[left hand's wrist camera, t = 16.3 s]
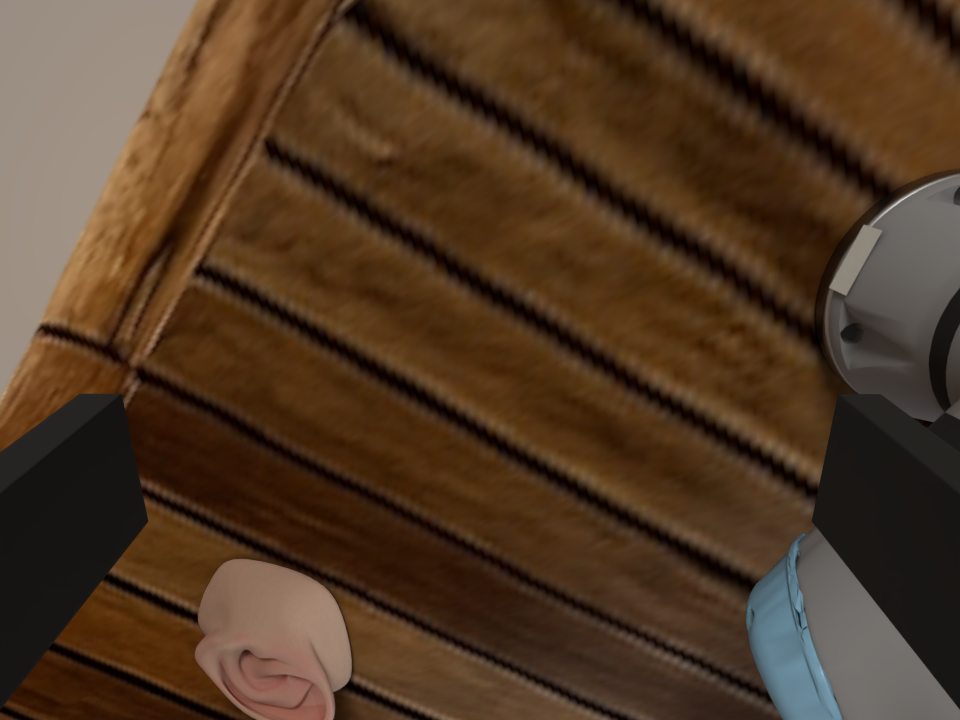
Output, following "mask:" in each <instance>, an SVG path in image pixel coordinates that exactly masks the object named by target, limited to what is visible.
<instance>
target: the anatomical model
mask: <svg viewBox="0 0 960 720" xmlns="http://www.w3.org/2000/svg"><path fill="white" fill-rule="evenodd" d="M198 622H199V625H200V628H201V630H202V631H203V633H204V634H205V637H204V638H203V639H202V640H201V642H200V643H199V644H198V646H197V648H196V650H195V658H196V661H197V663H198V664H199V665H200V667H201V668H202V669H203V670H204V671H205V673H206V674H207V675H208V676H209V677H210V678H211V679H212V681H213V682H214V683H215V684H216V685H217V686H218V688H219V689H220V690H221V691H222V692H223V693H224V694H225V695H226V697H227V698H228V699H229V700H230V701H231V702H232V703H233V704H234V705H236V706H237V707H238V708H239V709H240V710H242V711H243V712H244V713H246V714H247V715H249V716H251V717H252V718H254V719H256V720H333V719H334V715H335V700H334V695H333V692H335V691H337V690H339V689H341V688H342V687H343V686H345V685H346V684H347V682H348V681H349V679H350V677H351V672H352V658H351V650H350V644H349V639H348V635H347V631H346V627H345V623H344V620H343V617H342V614H341V612H340V609H339V607H338V605H337V603H336V601H335V599H334V598H333V596H332V595H331V593H330V592H329V591H328V590H327V589H326V588H325V587H324V586H323V585H321V584H320V583H319V582H317V581H315V580H314V579H312V578H310V577H308V576H306V575H304V574H302V573H299V572H297V571H294V570H291V569H289V568H285V567H282V566H278V565H275V564H270V563H266V562H262V561H256V560H250V559H233V560H230V561H227V562H225V563H224V564H222V565H221V566H220V567H219V568H218V570H217V571H216V573H215V574H214V575H213V577H212V579H211V581H210V583H209V585H208V587H207V589H206V591H205V593H204V595H203V598H202V601H201V605H200V608H199V613H198Z"/></svg>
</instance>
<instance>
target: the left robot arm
mask: <svg viewBox="0 0 960 720" xmlns="http://www.w3.org/2000/svg"><path fill="white" fill-rule="evenodd" d="M816 328H817V335H818V339H819V343H820V346H821V349H822V351H823V354H824V356H825V358H826V360H827V362H828V364H829V365H830V367H831V368H832V369H833V371H834V372H835V374H836V375H837V376H838V377H839V378H840V379H841V380H842V381H843V382H844V383H845V384H847V385H848V386H849V387H850V388H851V389H853V390H854V391H855V392H857V393H858V394H838V398H837V403H836V408H835V413H834V417H833V422H832V427H831V432H830V437H829V441H828V446H827V451H826V456H825V461H824V465H823V470H822V475H821V480H820V484H819V489H818V494H817V499H816V504H815V508H814V513H813V518H812V522H813V524H814V525H815V526H816V527H815V528H814V529H813V530H812V531H810V532H809V533H808V534H804V533H803V534H801V535H800V536H798V537H797V538H796V539H795V540H794V541H793V542H792V544H791V546H790V550H789V551H788V552H787V553H786V554H785V556H784V557H783V558H782V559H781V560H780V561H779V562H778V563H777V564H776V565H775V566H774V567H773V568H772V569H771V570H770V571H769V572H768V573H767V574H766V575H765V576H764V577H763V578H762V579H761V580H760V581H759V582H758V583H757V584H756V585H755V587H754V588H753V590H752V592H751V593H750V596H749V599H748V602H747V607H746V626H747V630H748V634H749V644H750V648H751V651H752V654H753V657H754V660H755V663H756V666H757V668H758V671H759V673H760V676H761V678H762V680H763V683H764V685H765V687H766V689H767V691H768V693H769V695H770V697H771V699H772V701H773V703H774V705H775V707H776V708H777V710H778V712H779V714H780V716H781V717H782V719H783V720H960V169H955V170H948V171H944V172H939V173H935V174H932V175H929V176H925V177H923V178H920V179H918V180H915V181H913V182H911V183H909V184H907V185H905V186H903V187H901V188H899V189H897V190H895V191H894V192H892V193H891V194H889V195H887V196H886V197H884V198H883V199H882V200H880V201H879V202H878V203H876V204H875V205H874V206H873V207H872V208H870V209H869V210H868V211H867V212H866V213H865V214H864V215H863V216H862V217H861V218H860V219H859V220H858V221H857V222H856V223H855V224H854V225H853V226H852V227H851V229H850V230H849V231H848V232H847V233H846V235H845V236H844V237H843V239H842V240H841V242H840V243H839V244H838V246H837V248H836V249H835V251H834V253H833V255H832V256H831V258H830V260H829V263H828V265H827V267H826V269H825V272H824V274H823V277H822V280H821V284H820V287H819V291H818V297H817V303H816ZM914 418H917V419H922V420H926V421H931V422H933V423H932V424H931V425H930V426H929V427H928V428H926V427H924V426H923V425H922V424H920V423H919V422H918V421H916V420H915V419H914ZM147 522H148V518H147V513H146V508H145V504H144V499H143V494H142V489H141V484H140V480H139V475H138V470H137V465H136V461H135V456H134V451H133V446H132V441H131V437H130V432H129V427H128V422H127V417H126V413H125V408H124V403H123V398H122V394H79V395H78V396H76V397H75V398H74V399H72V400H71V401H69V402H68V403H67V404H65V405H64V406H63V407H61V408H60V409H59V410H57V411H56V412H55V413H53V414H52V415H50V416H49V417H48V418H46V419H45V420H44V421H42V422H41V423H40V424H38V425H37V426H36V427H34V428H33V429H31V430H30V431H29V432H27V433H26V434H25V435H23V436H22V437H21V438H19V439H18V440H17V441H15V442H14V443H12V444H11V445H10V446H8V447H7V448H6V449H4V450H3V451H2V452H0V709H1V708H2V707H3V706H4V704H5V703H6V702H7V701H8V699H9V698H10V697H11V695H12V694H13V693H14V692H15V690H16V689H17V688H18V687H19V685H20V684H21V683H22V681H23V680H24V679H25V678H26V676H27V675H28V674H29V673H30V671H31V670H32V669H33V667H34V666H35V665H36V664H37V662H38V661H39V660H40V659H41V657H42V656H43V655H44V653H45V652H46V651H47V650H48V648H49V647H50V646H51V645H52V643H53V642H54V641H55V639H56V638H57V637H58V636H59V634H60V633H61V632H62V631H63V629H64V628H65V627H66V625H67V624H68V623H69V622H70V620H71V619H72V618H73V617H74V615H75V614H76V613H77V611H78V610H79V609H80V608H81V606H82V605H83V604H84V603H85V601H86V600H87V599H88V597H89V596H90V595H91V594H92V592H93V591H94V590H95V589H96V587H97V586H98V585H99V583H100V582H101V581H102V580H103V578H104V577H105V576H106V575H107V573H108V572H109V571H110V569H111V568H112V567H113V566H114V564H115V563H116V562H117V561H118V559H119V558H120V557H121V555H122V554H123V553H124V552H125V550H126V549H127V548H128V547H129V545H130V544H131V543H132V541H133V540H134V539H135V538H136V536H137V535H138V534H139V533H140V531H141V530H142V529H143V527H144V526H145V525H146V524H147Z"/></svg>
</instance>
